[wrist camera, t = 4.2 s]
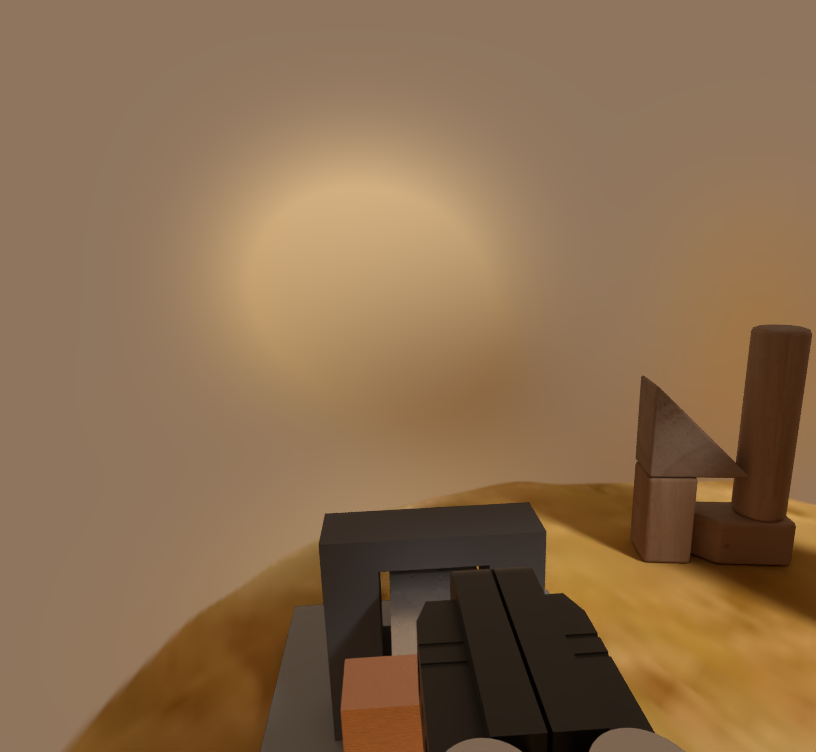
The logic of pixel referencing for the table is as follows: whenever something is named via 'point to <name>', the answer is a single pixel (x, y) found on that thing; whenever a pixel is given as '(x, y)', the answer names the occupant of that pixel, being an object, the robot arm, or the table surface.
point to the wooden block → (723, 464)
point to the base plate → (305, 688)
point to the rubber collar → (409, 566)
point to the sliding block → (392, 672)
